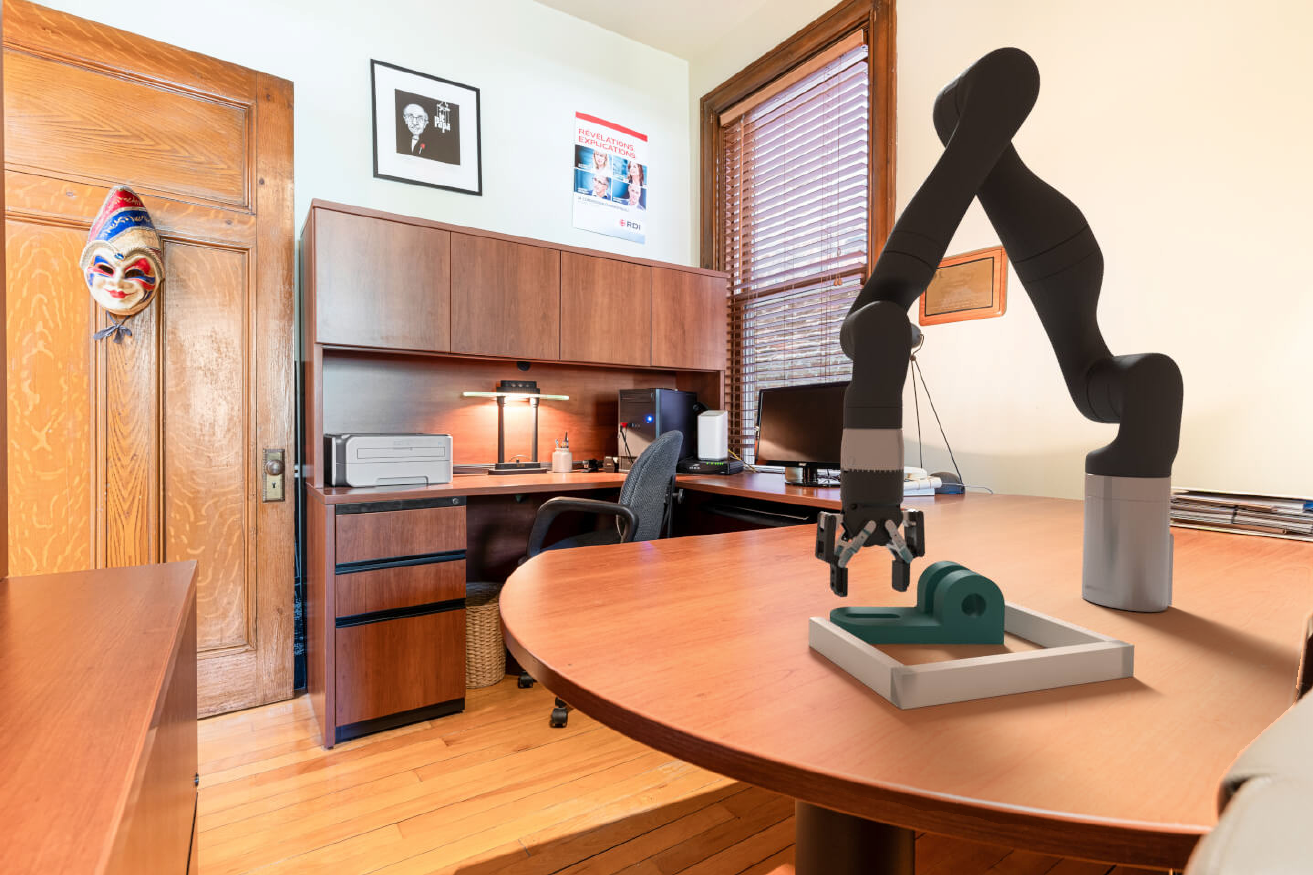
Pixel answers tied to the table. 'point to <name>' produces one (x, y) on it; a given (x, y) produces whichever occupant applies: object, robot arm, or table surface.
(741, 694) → the table surface
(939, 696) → the white open frame
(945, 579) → the bracket
